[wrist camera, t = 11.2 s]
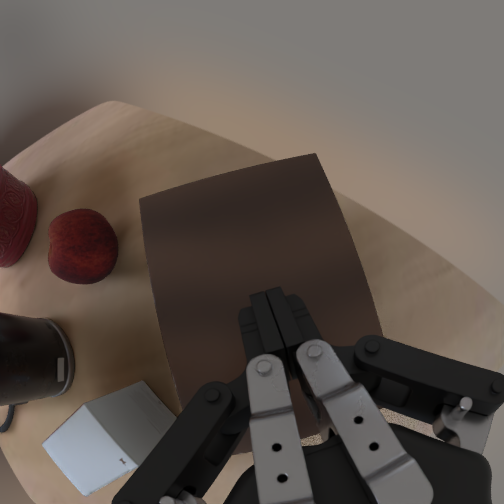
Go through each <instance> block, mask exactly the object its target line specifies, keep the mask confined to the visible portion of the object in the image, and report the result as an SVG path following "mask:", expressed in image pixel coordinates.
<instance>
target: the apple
mask: <svg viewBox="0 0 504 504" xmlns="http://www.w3.org/2000/svg"><path fill="white" fill-rule="evenodd" d="M48 235H49V239H50V248H49V253H48V262H49V266H50V269H51V271H52V272H53V273H54V274H55V275H56V276H57V277H59V278H61V279H62V280H65V281H67V282H71V283H75V284H93V283H96V282H99V281H101V280H103V279H104V278H105V277H107V276H108V275H109V274H110V273H111V272H112V270H113V268H114V267H115V264H116V261H117V257H118V241H117V236H116V234H115V232H114V230H113V228H112V227H111V225H110V224H109V222H108V221H107V220H106V218H105V217H104V216H102V215H101V214H100V213H98V212H96V211H94V210H91V209H75V210H71V211H68V212H65V213H63V214H61V215H59V216H57V217H56V218H55V219H54V220H53V221H52V222H51V224H50V227H49V230H48Z"/></svg>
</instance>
